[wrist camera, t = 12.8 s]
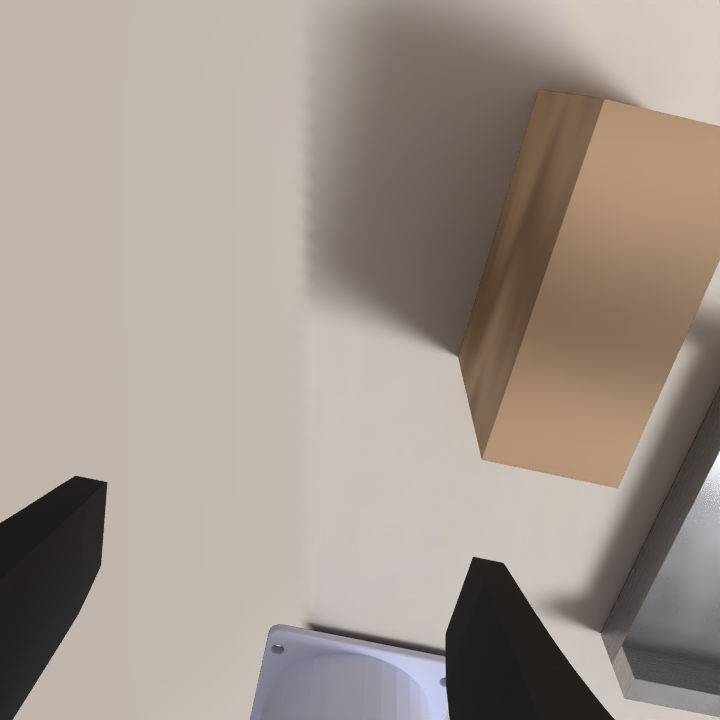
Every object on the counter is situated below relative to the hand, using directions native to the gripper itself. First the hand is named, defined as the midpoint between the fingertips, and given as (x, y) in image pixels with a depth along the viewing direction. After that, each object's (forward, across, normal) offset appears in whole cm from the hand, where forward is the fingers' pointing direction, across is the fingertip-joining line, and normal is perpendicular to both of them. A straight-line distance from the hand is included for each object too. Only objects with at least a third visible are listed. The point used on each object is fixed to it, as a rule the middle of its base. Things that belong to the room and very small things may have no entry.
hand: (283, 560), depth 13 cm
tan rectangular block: (+10, -6, -5) cm, 13 cm away
